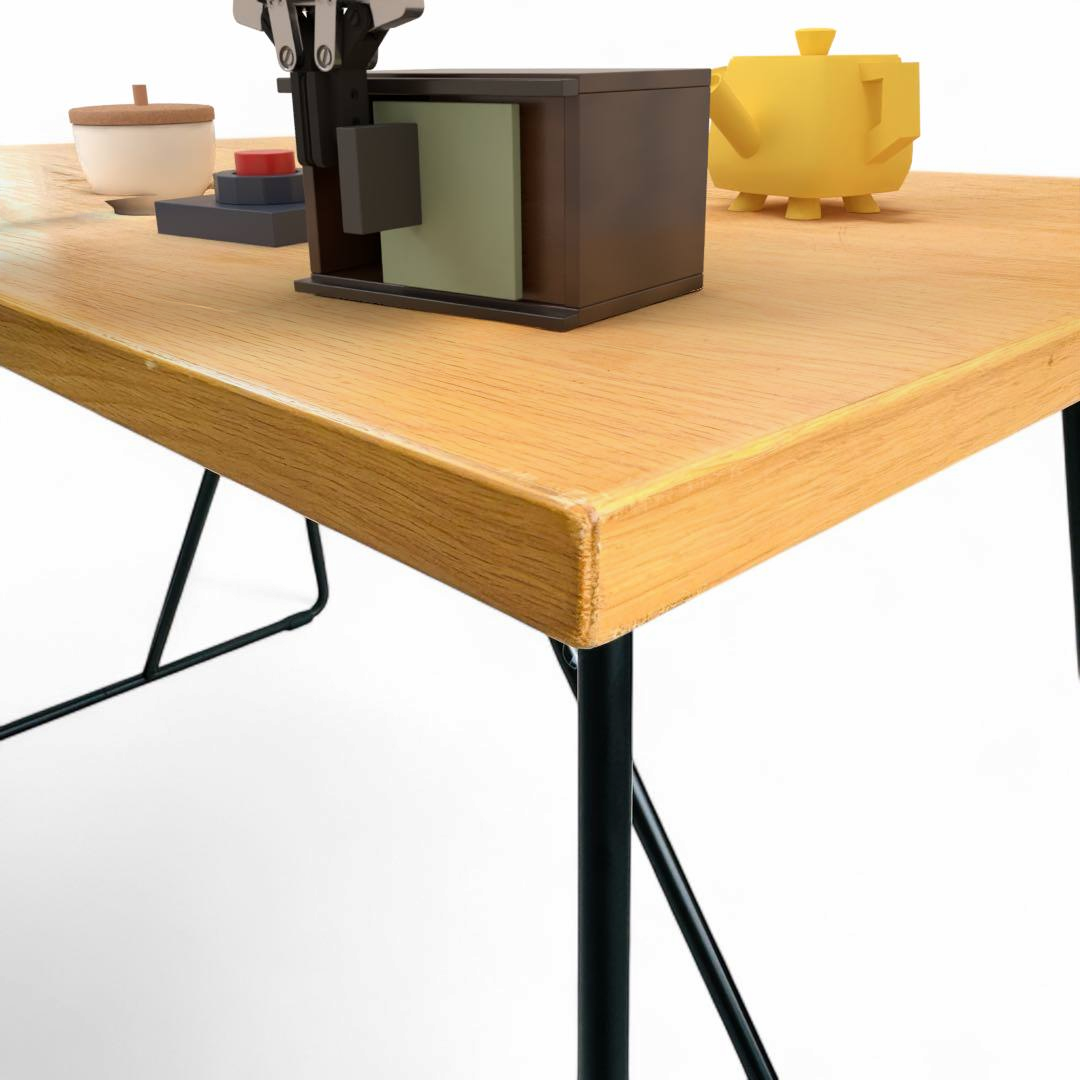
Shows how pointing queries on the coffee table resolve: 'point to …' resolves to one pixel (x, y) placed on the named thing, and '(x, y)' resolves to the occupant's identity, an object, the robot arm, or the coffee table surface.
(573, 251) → the cupboard
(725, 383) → the coffee table surface
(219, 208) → the control block
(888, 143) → the teapot
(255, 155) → the button
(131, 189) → the trinket box
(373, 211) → the sliding door
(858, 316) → the coffee table surface
